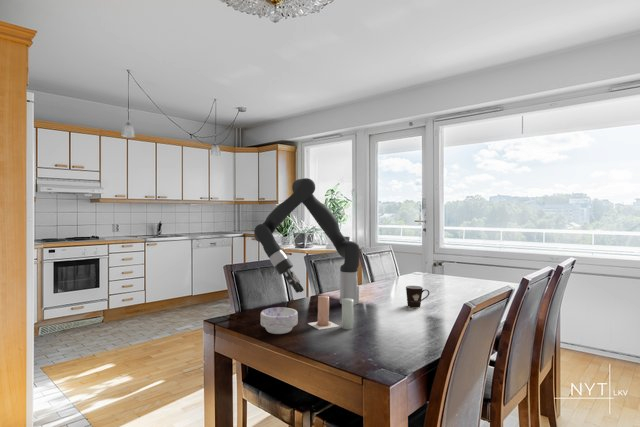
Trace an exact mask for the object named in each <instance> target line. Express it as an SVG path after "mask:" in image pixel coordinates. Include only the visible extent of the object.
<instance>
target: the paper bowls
mask: <svg viewBox="0 0 640 427" xmlns="http://www.w3.org/2000/svg"><path fill="white" fill-rule="evenodd" d="M298 314H299V312H298V311H297V310H296V309H294V308H291V307H290V308H289V307H283V306H282V307H280V306H278V307H277V306H276V307H269V308H266V309H263V310H262V311H261V312H260V325H261V327H262V328H265V330H266V332H268V333H270V334H273V335H283V334H288V333H290V332H291V331H292V330H293V328H294V327H295V326H297V325H298V321H299V317H298V316H299V315H298Z"/></svg>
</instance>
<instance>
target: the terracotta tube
mask: <svg viewBox="0 0 640 427" xmlns="http://www.w3.org/2000/svg"><path fill="white" fill-rule="evenodd" d="M329 321H330V296H329V295H318V296H317V322H318V325H320V326H327V325H329Z"/></svg>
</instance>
